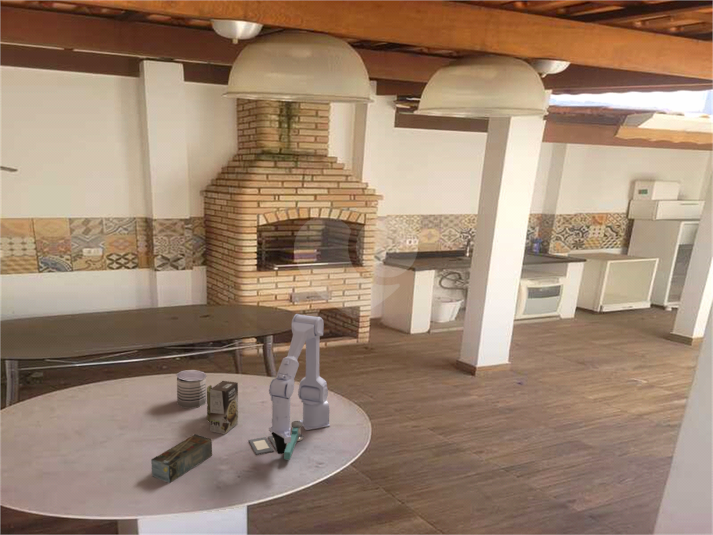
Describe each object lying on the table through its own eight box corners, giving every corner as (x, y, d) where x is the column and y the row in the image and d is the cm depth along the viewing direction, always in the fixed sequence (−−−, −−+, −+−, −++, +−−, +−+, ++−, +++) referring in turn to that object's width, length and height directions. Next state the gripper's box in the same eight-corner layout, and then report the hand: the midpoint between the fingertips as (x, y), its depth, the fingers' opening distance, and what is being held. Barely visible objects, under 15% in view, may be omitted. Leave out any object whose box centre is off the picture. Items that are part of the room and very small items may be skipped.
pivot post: (300, 434, 199) (301, 422, 198) (305, 440, 194) (305, 428, 194) (287, 436, 197) (287, 424, 196) (291, 442, 192) (292, 431, 191)
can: (184, 395, 228) (184, 367, 226) (211, 398, 226) (210, 370, 224) (171, 407, 217) (171, 378, 215) (199, 409, 215) (199, 380, 213)
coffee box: (225, 434, 196) (225, 391, 193) (209, 431, 198) (209, 388, 195) (238, 423, 205) (238, 382, 202) (223, 420, 207) (222, 379, 204)
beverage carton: (150, 476, 169) (149, 456, 168) (195, 449, 186) (195, 431, 185) (169, 484, 166) (168, 464, 165) (213, 456, 183) (213, 437, 181)
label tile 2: (284, 434, 198) (284, 433, 198) (293, 447, 189) (293, 446, 189) (268, 437, 195) (268, 436, 195) (276, 451, 186) (276, 449, 186)
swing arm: (292, 431, 197) (292, 420, 196) (302, 432, 197) (302, 421, 196) (281, 459, 179) (281, 446, 178) (292, 459, 178) (292, 447, 178)
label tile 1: (265, 438, 195) (265, 436, 195) (273, 451, 186) (273, 450, 186) (248, 441, 192) (248, 439, 192) (256, 455, 183) (256, 453, 183)
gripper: (263, 407, 184) (262, 445, 187) (275, 426, 171) (275, 466, 174) (283, 404, 187) (283, 441, 190) (297, 422, 174) (296, 462, 177)
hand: (280, 453), depth 182 cm, fingers closed
